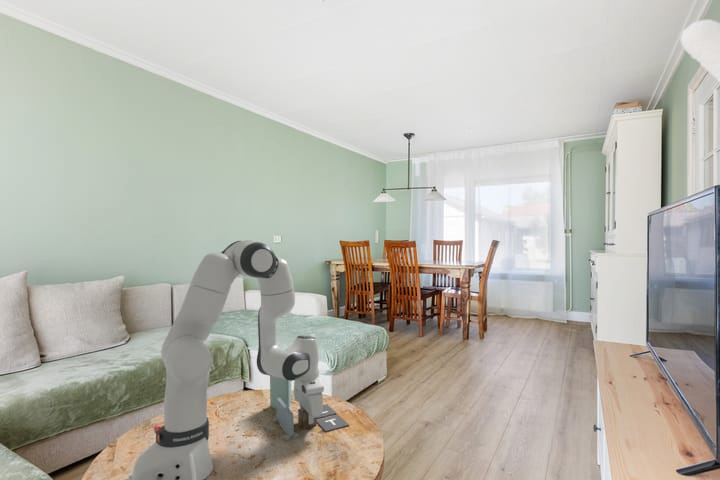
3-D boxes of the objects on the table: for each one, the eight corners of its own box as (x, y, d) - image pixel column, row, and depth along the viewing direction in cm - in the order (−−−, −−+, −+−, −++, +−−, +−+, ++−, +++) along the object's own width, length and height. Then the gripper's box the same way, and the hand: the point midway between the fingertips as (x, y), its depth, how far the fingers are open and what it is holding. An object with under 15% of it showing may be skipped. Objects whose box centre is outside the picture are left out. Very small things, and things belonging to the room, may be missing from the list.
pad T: (325, 432, 128) (325, 430, 128) (315, 421, 136) (315, 419, 136) (349, 425, 132) (349, 424, 132) (338, 415, 140) (338, 414, 140)
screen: (286, 440, 123) (285, 416, 123) (272, 420, 137) (272, 398, 137) (297, 437, 125) (297, 413, 125) (283, 418, 139) (283, 396, 139)
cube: (302, 429, 130) (302, 414, 130) (297, 423, 135) (297, 409, 135) (316, 425, 133) (316, 411, 133) (311, 420, 137) (311, 405, 137)
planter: (272, 398, 157) (272, 351, 157) (291, 396, 158) (291, 350, 158) (267, 415, 141) (267, 363, 141) (288, 414, 142) (288, 362, 142)
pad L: (314, 419, 137) (314, 418, 137) (305, 410, 145) (305, 408, 145) (336, 414, 141) (336, 412, 141) (327, 405, 149) (327, 403, 149)
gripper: (289, 373, 142) (289, 410, 141) (308, 392, 124) (308, 434, 123) (305, 370, 145) (305, 406, 144) (325, 388, 127) (326, 429, 126)
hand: (307, 419), depth 134 cm, fingers open, 5 cm apart
